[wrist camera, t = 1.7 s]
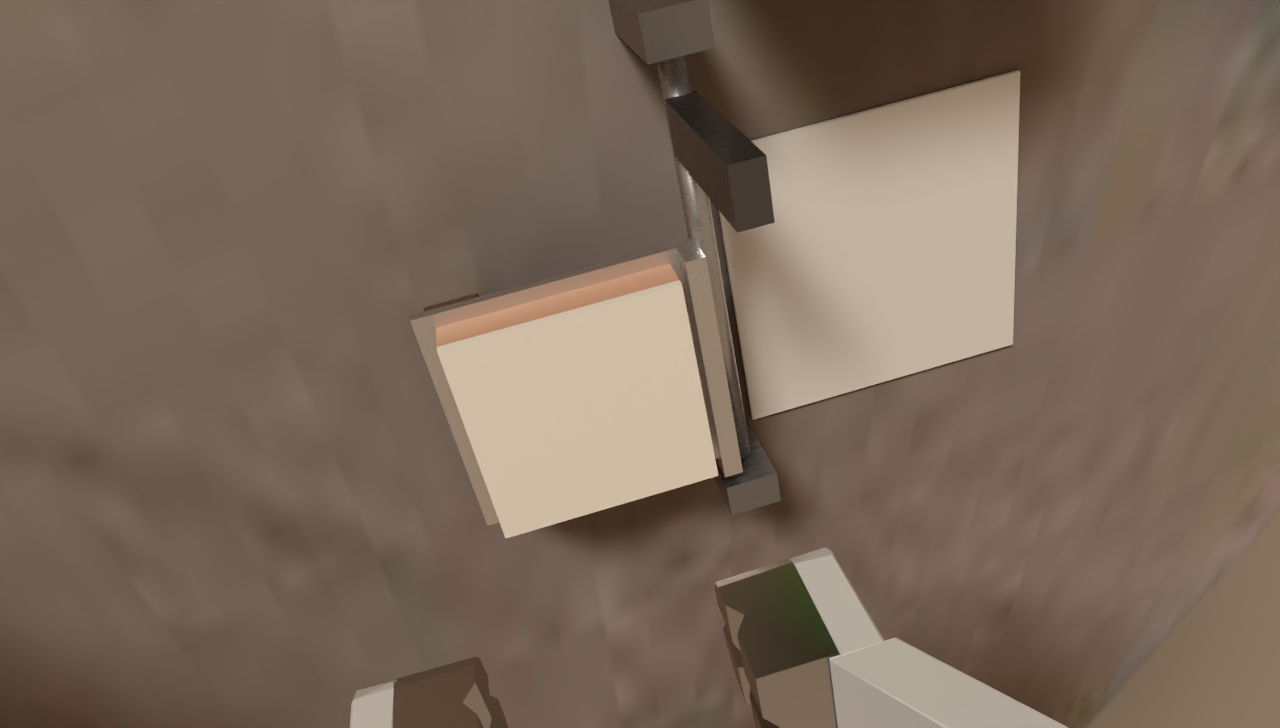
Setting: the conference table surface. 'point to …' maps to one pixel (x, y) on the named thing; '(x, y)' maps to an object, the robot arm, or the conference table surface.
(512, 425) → the tile
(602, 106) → the conference table surface
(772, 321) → the mat
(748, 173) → the flipper
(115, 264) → the conference table surface
